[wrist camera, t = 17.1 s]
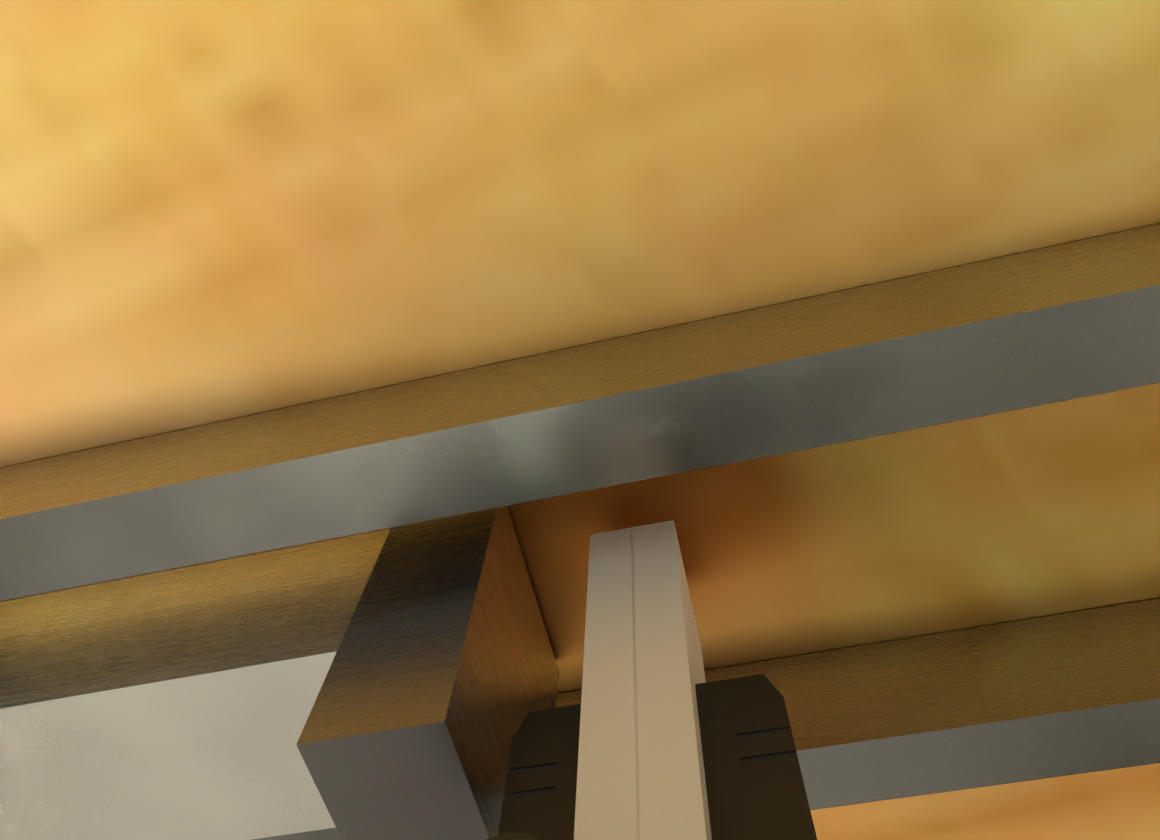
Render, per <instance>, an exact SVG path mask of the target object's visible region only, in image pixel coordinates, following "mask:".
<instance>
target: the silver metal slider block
mask: <svg viewBox="0 0 1160 840" xmlns="http://www.w3.org/2000/svg"><path fill="white" fill-rule="evenodd" d="M558 678H559V670H558V667H557V664H556V661H555V658H554V654H553V651H552V648H551V645H550V642H549V638H548V635H547V632H546V629H545V625H544V622H543V619H542V616H541V613H540V609H539V606H538V603H537V600H536V597H535V593H534V590H533V587H532V584H531V580H530V577H529V574H528V571H527V568H526V564H525V561H524V558H523V555H522V552H521V548H520V545H519V542H518V539H517V535H516V532H515V529H514V526H513V523H512V519H511V516H510V513H509V510H508V507H507V506H502V507H497V508H492V509H486V510H481V511H476V512H471V513H465V514H460V515H455V516H449V517H444V518H439V519H433V520H428V521H423V522H418V523H412V524H407V525H402V526H396V527H391V528H389V529H384V530H379V531H374V532H368V533H363V534H358V535H352V536H347V537H342V538H336V539H331V540H326V541H320V542H315V543H310V544H305V545H299V546H294V547H289V548H283V549H278V550H273V551H267V552H262V553H257V554H251V555H246V556H241V557H235V558H230V559H225V560H220V561H214V562H209V563H204V564H198V565H193V566H188V567H182V568H177V569H172V570H166V571H161V572H156V573H151V574H145V575H140V576H135V577H129V578H124V579H119V580H113V581H108V582H103V583H97V584H92V585H87V586H82V587H76V588H71V589H66V590H60V591H55V592H50V593H44V594H39V595H34V596H28V597H23V598H18V599H13V600H7V601H2V602H0V840H252V839H259V838H266V837H273V836H280V835H287V834H294V833H301V832H308V831H315V830H322V829H329V828H336V829H337V831H338V833H339V835H340V837H341V839H342V840H486V839H489V838H492V837H495V836H498V830H499V824H500V817H501V810H502V803H503V800H504V789H505V782H506V775H508V770H507V768H508V761H509V754H510V747H511V741H512V738H513V737H514V735H515V733H516V732H517V730H518V728H519V727H520V725H521V724H522V722H523V720H524V719H525V717H526V715H527V714H528V712H530V711H537V710H543V709H550V708H556V699H557V688H558Z"/></svg>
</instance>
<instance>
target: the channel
mask: <svg viewBox="0 0 1160 840" xmlns="http://www.w3.org/2000/svg"><path fill="white" fill-rule="evenodd" d="M1155 383H1160V224H1156V225H1151V226H1146V227H1142V228H1137V229H1132V230H1127V231H1123V232H1118V233H1113V234H1108V235H1104V236H1099V237H1094V238H1089V239H1085V240H1080V241H1075V242H1071V243H1066V244H1061V245H1056V246H1052V247H1047V248H1042V249H1037V250H1033V251H1028V252H1023V253H1018V254H1014V255H1009V256H1004V257H999V258H995V259H990V260H985V261H980V262H976V263H971V264H966V265H961V266H957V267H952V268H947V269H942V270H938V271H933V272H928V273H923V274H919V275H914V276H909V277H904V278H900V279H895V280H890V281H885V282H881V283H876V284H871V285H866V286H862V287H857V288H852V289H847V290H843V291H838V292H833V293H828V294H824V295H819V296H814V297H809V298H805V299H800V300H795V301H790V302H786V303H781V304H776V305H771V306H767V307H762V308H757V309H752V310H748V311H743V312H738V313H733V314H729V315H724V316H719V317H714V318H710V319H705V320H700V321H695V322H691V323H686V324H681V325H677V326H672V327H667V328H662V329H658V330H653V331H648V332H643V333H639V334H634V335H629V336H624V337H620V338H615V339H610V340H605V341H601V342H596V343H591V344H586V345H582V346H577V347H572V348H567V349H563V350H558V351H553V352H548V353H544V354H539V355H534V356H529V357H525V358H520V359H515V360H510V361H506V362H501V363H496V364H491V365H487V366H482V367H477V368H472V369H468V370H463V371H458V372H453V373H449V374H444V375H439V376H434V377H430V378H425V379H420V380H415V381H411V382H406V383H401V384H396V385H392V386H387V387H382V388H377V389H373V390H368V391H363V392H358V393H354V394H349V395H344V396H339V397H335V398H330V399H325V400H320V401H316V402H311V403H306V404H301V405H297V406H292V407H287V408H283V409H278V410H273V411H268V412H264V413H259V414H254V415H249V416H245V417H240V418H235V419H230V420H226V421H221V422H216V423H211V424H207V425H202V426H197V427H192V428H188V429H183V430H178V431H173V432H169V433H164V434H159V435H154V436H150V437H145V438H140V439H135V440H131V441H126V442H121V443H116V444H112V445H107V446H102V447H97V448H93V449H88V450H83V451H78V452H74V453H69V454H64V455H59V456H55V457H50V458H45V459H40V460H36V461H31V462H26V463H21V464H17V465H12V466H7V467H2V468H0V601H4V600H9V599H14V598H20V597H25V596H30V595H36V594H41V593H46V592H51V591H57V590H62V589H67V588H73V587H78V586H83V585H89V584H94V583H99V582H105V581H110V580H115V579H120V578H126V577H131V576H136V575H142V574H147V573H152V572H158V571H163V570H168V569H173V568H179V567H184V566H189V565H195V564H200V563H205V562H211V561H216V560H221V559H227V558H232V557H237V556H242V555H248V554H253V553H258V552H264V551H269V550H274V549H280V548H285V547H290V546H296V545H301V544H306V543H311V542H317V541H322V540H327V539H333V538H338V537H343V536H349V535H354V534H359V533H364V532H370V531H375V530H380V529H386V528H391V527H396V526H402V525H407V524H412V523H418V522H423V521H428V520H433V519H439V518H444V517H449V516H455V515H460V514H465V513H471V512H476V511H481V510H486V509H492V508H497V507H502V506H508V505H513V504H518V503H524V502H529V501H534V500H540V499H545V498H550V497H555V496H561V495H566V494H571V493H577V492H582V491H587V490H593V489H598V488H603V487H609V486H614V485H619V484H624V483H630V482H635V481H640V480H646V479H651V478H656V477H662V476H667V475H672V474H677V473H683V472H688V471H693V470H699V469H704V468H709V467H715V466H720V465H725V464H731V463H736V462H741V461H746V460H752V459H757V458H762V457H768V456H773V455H778V454H784V453H789V452H794V451H799V450H805V449H810V448H815V447H821V446H826V445H831V444H837V443H842V442H847V441H853V440H858V439H863V438H868V437H874V436H879V435H884V434H890V433H895V432H900V431H906V430H911V429H916V428H922V427H927V426H932V425H937V424H943V423H948V422H953V421H959V420H964V419H969V418H975V417H980V416H985V415H990V414H996V413H1001V412H1006V411H1012V410H1017V409H1022V408H1028V407H1033V406H1038V405H1044V404H1049V403H1054V402H1059V401H1065V400H1070V399H1075V398H1081V397H1086V396H1091V395H1097V394H1102V393H1107V392H1113V391H1118V390H1123V389H1128V388H1134V387H1139V386H1144V385H1150V384H1155ZM704 673H705V681H706V682H712V681H719V680H725V679H732V678H739V677H745V676H752V675H758V674H764V675H765V676H766V677H767V678H768V680H769V681H770V682H771V683H772V684H773V685H774V686H775V688H776V689H777V690H778V691H779V692H780V693H781V694H782V696H783V697H784V700H785V705H786V709H787V713H788V717H789V722H790V726H791V731H792V735H793V739H794V743H795V747H796V752H797V756H798V760H799V765H800V769H801V773H802V777H803V782H804V786H805V790H806V795H807V799H808V803H809V807H810V810H815V809H822V808H830V807H837V806H844V805H852V804H859V803H866V802H874V801H881V800H889V799H896V798H903V797H911V796H918V795H925V794H933V793H940V792H948V791H955V790H962V789H970V788H977V787H985V786H992V785H999V784H1007V783H1014V782H1021V781H1029V780H1036V779H1044V778H1051V777H1058V776H1066V775H1073V774H1081V773H1088V772H1095V771H1103V770H1110V769H1117V768H1125V767H1132V766H1140V765H1147V764H1154V763H1160V598H1159V599H1153V600H1146V601H1140V602H1134V603H1127V604H1121V605H1115V606H1108V607H1102V608H1096V609H1089V610H1083V611H1077V612H1070V613H1064V614H1058V615H1052V616H1045V617H1039V618H1033V619H1026V620H1020V621H1014V622H1007V623H1001V624H995V625H988V626H982V627H976V628H969V629H963V630H957V631H951V632H944V633H938V634H932V635H925V636H919V637H913V638H906V639H900V640H894V641H887V642H881V643H875V644H868V645H862V646H856V647H849V648H843V649H837V650H831V651H824V652H818V653H812V654H805V655H799V656H793V657H786V658H780V659H774V660H767V661H761V662H755V663H748V664H742V665H736V666H730V667H723V668H717V669H711V670H704ZM581 696H582V690H578V691H572V692H565V693H559V694H557V699H556V708H557V707H563V706H570V705H576V704H581ZM252 840H342V839H341V837H340V835H339V833H338V831H337V829H336V828H329V829H322V830H315V831H308V832H301V833H294V834H287V835H280V836H273V837H266V838H259V839H252Z"/></svg>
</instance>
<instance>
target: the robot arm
mask: <svg viewBox="0 0 1160 840" xmlns="http://www.w3.org/2000/svg"><path fill="white" fill-rule="evenodd" d="M507 770H508V775H506V782H505V789H504V800H503V803H502V810H501V817H500V824H499V830H498V836H495V837H492V838H489V839H486V840H817V837H816V833H815V829H814V824H813V820H812V816H811V812H810V807H809V803H808V799H807V795H806V790H805V786H804V782H803V777H802V773H801V769H800V765H799V760H798V756H797V752H796V747H795V743H794V739H793V735H792V731H791V726H790V722H789V717H788V713H787V709H786V705H785V700H784V697H783V696H782V694H781V693H780V692H779V691H778V690H777V689H776V688H775V686H774V685H773V684H772V683H771V682H770V681H769V680H768V678H767V677H766V676H765V675H764V674H758V675H752V676H745V677H739V678H732V679H725V680H719V681H712V682H706V681H705V673H704V665H703V657H702V649H701V642H700V638H699V633H698V629H697V624H696V619H695V615H694V610H693V606H692V601H691V597H690V592H689V588H688V583H687V578H686V574H685V569H684V565H683V560H682V556H681V551H680V547H679V542H678V538H677V533H676V528H675V524H674V520H670V521H664V522H659V523H653V524H647V525H642V526H636V527H631V528H625V529H619V530H614V531H608V532H602V533H597V534H591V535H590V548H589V567H588V585H587V604H586V622H585V641H584V659H583V677H582V696H581V704H576V705H570V706H563V707H557V708H550V709H543V710H537V711H530V712H528V714H527V715H526V717H525V719H524V720H523V722H522V724H521V725H520V727H519V728H518V730H517V732H516V733H515V735H514V737H513V738H512V741H511V747H510V754H509V761H508V768H507Z"/></svg>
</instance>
